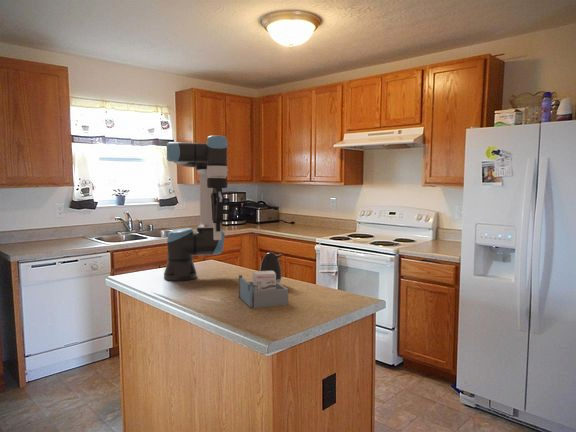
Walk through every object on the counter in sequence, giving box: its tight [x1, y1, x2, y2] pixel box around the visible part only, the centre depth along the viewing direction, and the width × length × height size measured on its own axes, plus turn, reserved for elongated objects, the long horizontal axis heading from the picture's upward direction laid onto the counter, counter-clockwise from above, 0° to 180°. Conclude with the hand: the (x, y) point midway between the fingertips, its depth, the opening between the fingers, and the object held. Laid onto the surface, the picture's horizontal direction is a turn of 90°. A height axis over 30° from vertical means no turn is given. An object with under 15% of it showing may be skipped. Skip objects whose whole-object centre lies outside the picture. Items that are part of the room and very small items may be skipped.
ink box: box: [252, 270, 276, 302], centre depth 162 cm, size 9×5×12 cm, turn 103°
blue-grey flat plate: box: [239, 277, 253, 308], centre depth 161 cm, size 13×1×8 cm, turn 22°
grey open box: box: [238, 274, 289, 309], centre depth 164 cm, size 16×15×9 cm
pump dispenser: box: [259, 251, 283, 283], centre depth 188 cm, size 10×10×15 cm
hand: (217, 239), depth 160 cm, fingers closed
